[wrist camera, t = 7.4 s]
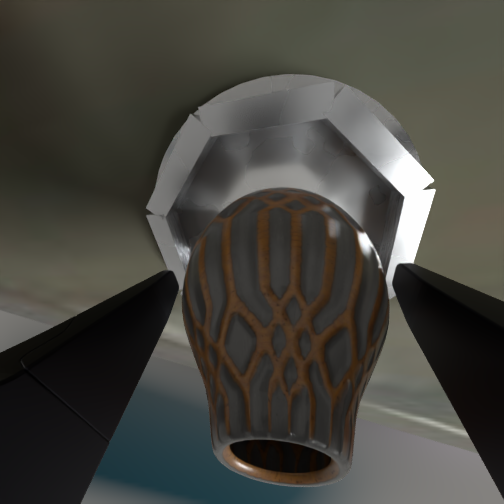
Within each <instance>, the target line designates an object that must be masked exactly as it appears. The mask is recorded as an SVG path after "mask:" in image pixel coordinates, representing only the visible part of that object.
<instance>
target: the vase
mask: <svg viewBox="0 0 504 504" xmlns="http://www.w3.org/2000/svg"><path fill="white" fill-rule="evenodd" d="M182 313H183V320H184V326H185V330H186V334H187V337H188V340H189V343H190V346H191V349H192V352H193V355H194V358H195V361H196V363H197V366H198V369H199V371H200V374H201V377H202V379H203V383H204V385H205V388H206V394H207V399H208V405H209V415H210V426H211V427H210V428H211V439H212V447H213V451H214V454H215V456H216V457H217V459H218V460H219V461H220V462H221V463H222V464H223V465H225V466H226V467H227V468H229V469H230V470H232V471H234V472H236V473H238V474H241V475H243V476H245V477H248V478H251V479H254V480H258V481H262V482H266V483H271V484H276V485H283V486H293V487H314V486H323V485H328V484H332V483H335V482H337V481H339V480H341V479H343V478H344V477H345V476H346V475H347V474H348V473H349V471H350V468H351V464H352V456H353V446H354V435H355V425H356V418H357V413H358V409H359V404H360V401H361V398H362V396H363V393H364V391H365V389H366V386H367V384H368V382H369V380H370V378H371V375H372V373H373V371H374V368H375V366H376V363H377V361H378V358H379V356H380V354H381V351H382V348H383V345H384V342H385V339H386V334H387V330H388V325H389V295H388V288H387V283H386V278H385V274H384V270H383V267H382V264H381V261H380V258H379V256H378V254H377V251H376V249H375V247H374V245H373V244H372V242H371V240H370V239H369V237H368V236H367V234H366V233H365V232H364V230H363V229H362V228H361V226H360V225H359V224H358V223H357V222H356V221H355V220H354V219H353V218H352V217H351V216H350V215H349V214H348V213H347V212H346V211H345V210H343V209H342V208H341V207H339V206H338V205H337V204H335V203H334V202H332V201H331V200H329V199H327V198H325V197H323V196H321V195H319V194H316V193H314V192H311V191H307V190H303V189H297V188H288V187H277V188H268V189H263V190H259V191H255V192H252V193H249V194H247V195H245V196H242V197H241V198H239V199H237V200H235V201H234V202H232V203H231V204H229V205H228V206H227V207H226V208H224V209H223V210H222V211H221V212H220V213H219V214H217V215H216V217H215V218H214V219H213V220H212V221H211V222H210V223H209V224H208V226H207V227H206V228H205V229H204V231H203V232H202V234H201V235H200V237H199V239H198V240H197V242H196V244H195V246H194V248H193V251H192V253H191V256H190V258H189V261H188V265H187V269H186V272H185V278H184V284H183V293H182Z"/></svg>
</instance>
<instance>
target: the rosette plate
mask: <svg viewBox="0 0 504 504" xmlns="http://www.w3.org/2000/svg"><path fill="white" fill-rule="evenodd" d="M432 181H433V179H432V178H431V176H430V175H429V174H428V173H427V172H426V171H425V170H424V169H423V168H422V166H421V163H420V159H419V156H418V154H417V152H416V150H415V148H414V146H413V143H412V141H411V139H410V137H409V136H408V134H407V133H406V132H405V130H404V129H403V128H402V126H401V125H400V124H399V122H398V121H397V119H396V118H395V117H394V116H393V115H391V114H390V113H389V112H388V111H387V110H386V109H385V108H384V107H383V106H382V105H381V104H380V103H379V102H377V101H375V100H374V99H372V98H371V97H369V96H368V95H366V94H365V93H363V92H361V91H360V90H358V89H356V88H353V87H351V86H348V85H346V84H344V83H341V82H339V81H336V80H332V79H327V78H323V77H318V76H314V75H297V74H284V75H276V76H268V77H262V78H258V79H255V80H252V81H248V82H245V83H241V84H239V85H237V86H235V87H233V88H231V89H229V90H226V91H224V92H222V93H220V94H219V95H217V96H216V97H214V98H213V99H211V100H210V101H209V102H207V103H206V104H204V105H203V106H201V107H198V110H197V111H196V112H195V113H194V114H191V113H190V115H189V117H188V120H187V121H186V122H185V123H184V125H183V126H182V127H181V129H180V130H179V131H178V133H177V134H176V135H175V136H174V138H173V140H172V142H171V144H170V145H169V147H168V149H167V151H166V153H165V155H164V158H163V160H162V163H161V166H160V169H159V172H158V177H157V182H156V186H155V190H154V192H153V194H152V196H151V198H150V200H149V203H148V205H147V207H146V209H148V210H149V211H151V213H149V214H147V215H146V217H147V219H148V221H149V224H150V226H151V229H152V231H153V234H154V236H155V239H156V241H157V244H158V246H159V248H160V251H161V253H162V256H163V258H164V261H165V263H166V266H167V268H168V270H172V271H173V272H174V273H175V276H176V279H177V281H178V284H179V289H183V284H184V278H185V272H186V269H187V265H188V261H189V258H190V256H191V253H192V251H193V248H194V246H195V244H196V242H197V240H198V239H199V237H200V235H201V234H202V232H203V231H204V229H205V228H206V227H207V226H208V224H209V223H210V222H211V221H212V220H213V219H214V218H215V217H216V215H217V214H219V213H220V212H221V211H222V210H223V209H224V208H226V207H227V206H228V205H229V204H231V203H232V202H234V201H235V200H237V199H239V198H241V197H242V196H245V195H247V194H249V193H252V192H255V191H259V190H263V189H268V188H277V187H288V188H297V189H303V190H307V191H311V192H314V193H316V194H319V195H321V196H323V197H325V198H327V199H329V200H331V201H332V202H334V203H335V204H337V205H338V206H339V207H341V208H342V209H343V210H345V211H346V212H347V213H348V214H349V215H350V216H351V217H352V218H353V219H354V220H355V221H356V222H357V223H358V224H359V225H360V226H361V228H362V229H363V230H364V232H365V233H366V234H367V236H368V237H369V239H370V240H371V242H372V244H373V245H374V247H375V249H376V251H377V254H378V256H379V258H380V261H381V264H382V267H383V270H384V274H385V278H386V283H387V288H388V295H389V299H390V298H392V297H394V296H395V295H396V294H395V292H394V289H393V286H392V280H393V276H394V272H395V268H396V266H397V264H399V263H413V262H414V258H415V255H416V252H417V249H418V245H419V242H420V239H421V235H422V232H423V229H424V225H425V222H426V219H427V216H428V212H429V209H430V206H431V202H432V199H433V196H434V193H435V189H433V188H431V187H428V186H427V185H428V184H430V183H431V182H432ZM182 293H183V290H182V292H181V293H180V294H181V295H182Z"/></svg>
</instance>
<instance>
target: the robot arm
mask: <svg viewBox="0 0 504 504" xmlns="http://www.w3.org/2000/svg"><path fill="white" fill-rule="evenodd" d="M392 286H393V289H394V292H395V294H396V297H397V299H398V302H399V304H400V307H401V309H402V312H403V314H404V317H405V319H406V321H407V323H408V325H409V327H410V329H411V331H412V333H413V335H414V337H415V339H416V340H417V342H418V344H419V346H420V348H421V349H422V351H423V353H424V355H425V357H426V359H427V360H428V362H429V364H430V366H431V368H432V370H433V371H434V373H435V375H436V377H437V379H438V380H439V382H440V384H441V386H442V388H443V390H444V391H445V393H446V395H447V397H448V399H449V400H450V402H451V404H452V406H453V408H454V410H455V411H456V413H457V415H458V417H459V419H460V421H461V422H462V424H463V426H464V428H465V430H466V431H467V433H468V435H469V437H470V439H471V441H472V442H473V444H474V446H475V448H476V450H477V452H478V453H479V455H480V457H481V459H482V461H483V462H484V464H485V466H486V468H487V470H488V472H489V473H490V475H491V477H492V479H493V481H494V482H495V484H496V486H497V488H498V490H499V492H500V493H501V495H502V497H503V499H504V301H501V300H499V299H496V298H494V297H492V296H489V295H487V294H485V293H482V292H480V291H477V290H475V289H473V288H470V287H468V286H465V285H463V284H461V283H458V282H456V281H454V280H451V279H449V278H446V277H444V276H442V275H439V274H437V273H434V272H432V271H430V270H427V269H425V268H423V267H420V266H418V265H415V264H413V263H399V264H397V266H396V268H395V272H394V276H393V280H392ZM178 291H179V284H178V281H177V279H176V276H175V273H174V272H173V271H172V270H164V271H161V272H159V273H157V274H156V275H154V276H152V277H150V278H148V279H146V280H144V281H142V282H140V283H138V284H136V285H134V286H132V287H130V288H128V289H126V290H125V291H123V292H121V293H119V294H117V295H115V296H113V297H111V298H109V299H107V300H105V301H103V302H101V303H99V304H97V305H96V306H94V307H92V308H90V309H88V310H86V311H84V312H82V313H80V314H78V315H77V316H74V317H72V318H70V319H68V320H66V321H64V322H63V323H61V324H59V325H57V326H55V327H53V328H51V329H49V330H47V331H45V332H43V333H41V334H38V335H36V336H35V337H32V338H30V339H28V340H26V341H24V342H22V343H20V344H18V345H16V346H13V347H11V348H9V349H7V350H5V351H3V352H1V353H0V504H81V502H82V500H83V498H84V495H85V493H86V491H87V489H88V487H89V485H90V483H91V481H92V479H93V477H94V474H95V472H96V470H97V468H98V466H99V464H100V462H101V459H102V458H103V455H104V453H105V451H106V449H107V447H108V445H109V441H110V440H111V438H112V436H113V434H114V432H115V430H116V428H117V426H118V424H119V422H120V420H121V417H122V415H123V413H124V411H125V409H126V407H127V405H128V403H129V401H130V398H131V396H132V394H133V392H134V390H135V388H136V386H137V384H138V382H139V380H140V378H141V376H142V373H143V371H144V369H145V367H146V365H147V363H148V361H149V359H150V357H151V355H152V353H153V350H154V348H155V346H156V344H157V342H158V340H159V338H160V336H161V334H162V332H163V329H164V327H165V325H166V323H167V321H168V318H169V316H170V313H171V310H172V308H173V305H174V302H175V299H176V296H177V294H178Z"/></svg>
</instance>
